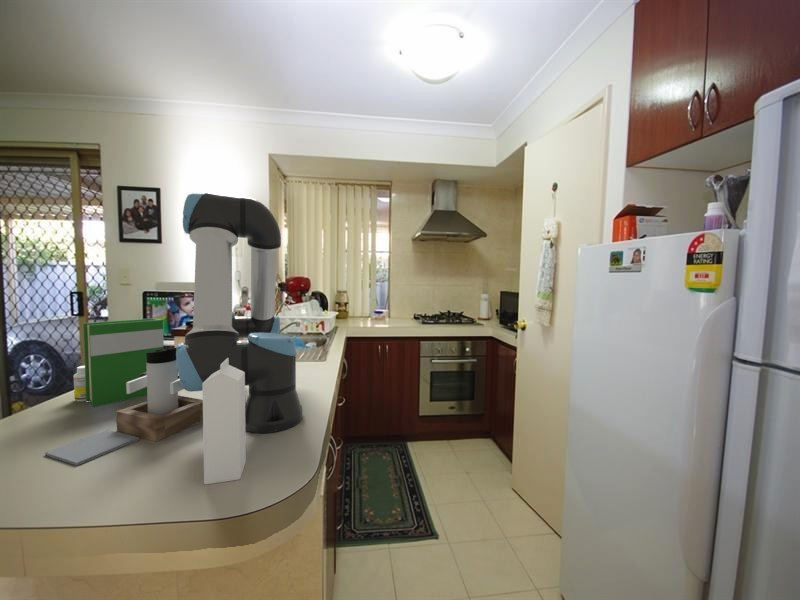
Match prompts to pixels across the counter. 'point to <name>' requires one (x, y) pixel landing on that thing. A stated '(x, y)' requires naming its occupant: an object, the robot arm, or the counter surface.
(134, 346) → the hardback book
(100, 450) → the slate mat
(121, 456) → the counter surface
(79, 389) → the supplement bottle
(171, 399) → the travel mug
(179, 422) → the cup stand
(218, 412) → the milk
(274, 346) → the robot arm
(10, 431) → the counter surface
